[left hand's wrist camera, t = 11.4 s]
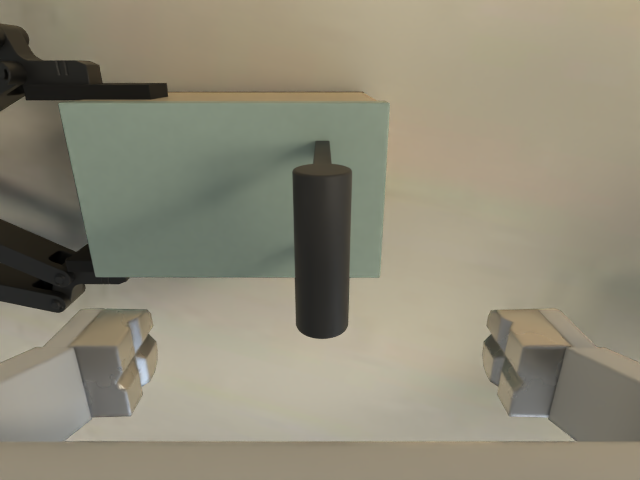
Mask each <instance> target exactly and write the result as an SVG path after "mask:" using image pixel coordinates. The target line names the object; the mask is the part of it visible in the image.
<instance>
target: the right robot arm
mask: <svg viewBox="0 0 640 480" xmlns="http://www.w3.org/2000/svg"><path fill="white" fill-rule="evenodd" d="M28 45H29V37H28V34H27V33H26V31H25V30H24V29H22V28H21V27H18V26H14V25H7V24H0V111H1V110H3V109H5V108H6V107H8V106H9V105H11V104H12V103H14V102H16V101H17V100H19V99H20V98H22V97H24V96H25V97H26V100H152V99H157V98H163V97H168V90H167V83H102V78H101V73H100V67H99V65H98V64H95V63H93V62H90V61H43V60H40V59H39V58H37V57H36V56H35V55H34V54H33V53H32V51H31V49H30V48H29V46H28ZM129 278H130V277H96V276H95V272H94V268H93V263H92V258H91V254H90V249H89V245H88V244H87V245H85V246H84V247H83V248H81V249H80V250H79V251H77V252H75V251H73V250H70V249H68V248H66V247H63V246H61V245H59V244H57V243H54V242H52V241H50V240H47V239H45V238H43V237H40V236H38V235H36V234H33V233H31V232H29V231H27V230H24V229H22V228H20V227H17V226H15V225H13V224H10V223H8V222H6V221H3V220H1V219H0V301H2V302H7V303H12V304H17V305H22V306H27V307H32V308H37V309H42V310H46V311H51V312H57V313H60V312H63V311H64V310H65V309H66V308H67V307H68V306H69V305H71V304H72V303H73V302H74V301H75V300H76V299H77V298H78V297H79V296H80V295H81V294H82V293H83V292H84V291H85V285H84V284H121V283H123V282H126V281H127V280H128V279H129Z"/></svg>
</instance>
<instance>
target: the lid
mask: <svg viewBox="0 0 640 480" xmlns="http://www.w3.org/2000/svg"><path fill="white" fill-rule="evenodd" d="M58 106H59V111H60V115H61V120H62V125H63V129H64V134H65V138H66V143H67V148H68V152H69V157H70V162H71V166H72V171H73V175H74V180H75V185H76V189H77V194H78V198H79V203H80V208H81V212H82V217H83V222H84V226H85V231H86V235H87V240H88V245H89V249H90V254H91V258H92V263H93V268H94V272H95V276H96V277H265V278H295V299H296V326H297V328H298V330H299V331H300V332H301V333H302V334H304V335H306V336H308V337H312V338H317V339H327V338H333V337H336V336H338V335H340V334H342V333H343V332H344V331H345V330H346V328H347V326H348V310H349V278H379V277H380V270H381V252H382V235H383V217H384V200H385V182H386V165H387V147H388V130H389V112H390V103H388V102H386V101H69V102H61V103H58Z"/></svg>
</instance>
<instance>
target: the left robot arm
mask: <svg viewBox="0 0 640 480" xmlns="http://www.w3.org/2000/svg"><path fill="white" fill-rule="evenodd" d="M152 327H153V321H152V316H151V313H150V312H149V311H148V310H144V309H104V308H100V309H82V310H80V311H79V312H78V313H77V314H76V315H75V316H74V317H73V318H72V319H71V320H70V321H69V322H68V323H67V324H66V325H65V326H64V327H63V328H62V329H61V330H60V331H59V332H58V333H57V334H56V335H54V336H53V337H52V338H51V339H50V340H49V341H48V342H47V343H46V344H45V345H44V346H43V347H35V348H33V349H31V350H28V351H26V352H24V353H21V354H19V355H17V356H15V357H12V358H10V359H8V360H5V361H3V362H1V363H0V480H640V363H639V362H637V361H635V360H632V359H630V358H628V357H625V356H623V355H621V354H619V353H616V352H614V351H612V350H609V349H607V348H605V347H597V346H596V345H595V344H594V343H593V342H592V341H591V340H590V339H589V338H588V337H587V336H586V335H585V334H584V333H583V332H582V331H581V330H580V329H579V328H577V327H576V326H575V325H574V324H573V323H572V322H571V321H570V320H569V319H568V318H567V317H566V316H565V315H564V314H563V313H562V312H561V311H560V310H558V309H555V308H549V309H515V310H491V312H490V314H489V316H488V320H487V327H488V329H489V330H490V332H491V333H492V334H491V335H490V336H489V337H488V338H487V339H486V340H485V341H484V344H483V352H482V356H483V366H484V369H485V372H486V375H487V377H488V379H489V380H490V381H491V382H492V383H494V384H495V385H497V386H498V393H497V395H498V397H499V399H500V401H501V402H502V404H503V406H504V408H505V410H506V411H507V413H508V415H509V416H518V417H548V419H549V420H550V421H551V422H553V423H554V424H555V425H556V426H558V427H559V428H560V429H562V430H563V431H564V432H565V433H567V434H568V435H569V436H571V437H572V438H573V439H574V440H576V441H299V442H247V441H64V440H66V439H67V438H68V437H70V436H71V435H72V434H73V433H75V432H76V431H77V430H79V429H80V428H81V427H82V426H84V425H85V424H86V423H88V422H89V421H90V420H91V419H92V418H91V417H121V416H131V415H132V413H133V411H134V410H135V408H136V406H137V404H138V402H139V401H140V399H141V397H142V395H143V393H142V386H143V385H145V384H146V383H148V382H149V381H150V380H151V379H152V377H153V375H154V373H155V369H156V364H157V344H156V341H155V340H154V339H153V338H152V337H151V336H150V335H149V334H148V333H149V332H150V330H151V329H152Z"/></svg>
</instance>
